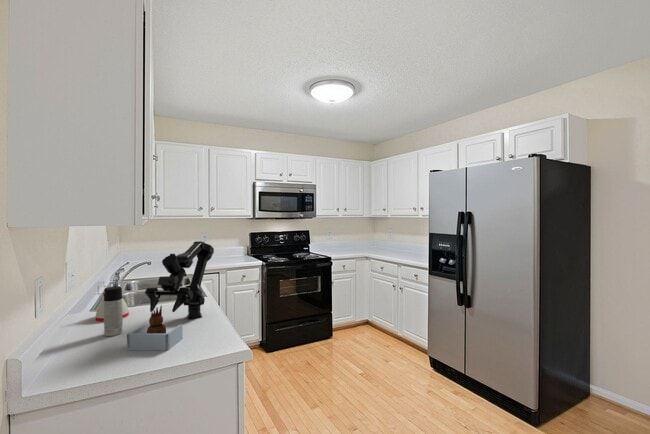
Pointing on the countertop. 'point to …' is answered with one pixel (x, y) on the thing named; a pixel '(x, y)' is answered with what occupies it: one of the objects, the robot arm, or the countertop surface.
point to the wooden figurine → (156, 323)
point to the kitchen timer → (101, 310)
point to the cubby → (153, 339)
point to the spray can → (113, 311)
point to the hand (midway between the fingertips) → (161, 311)
